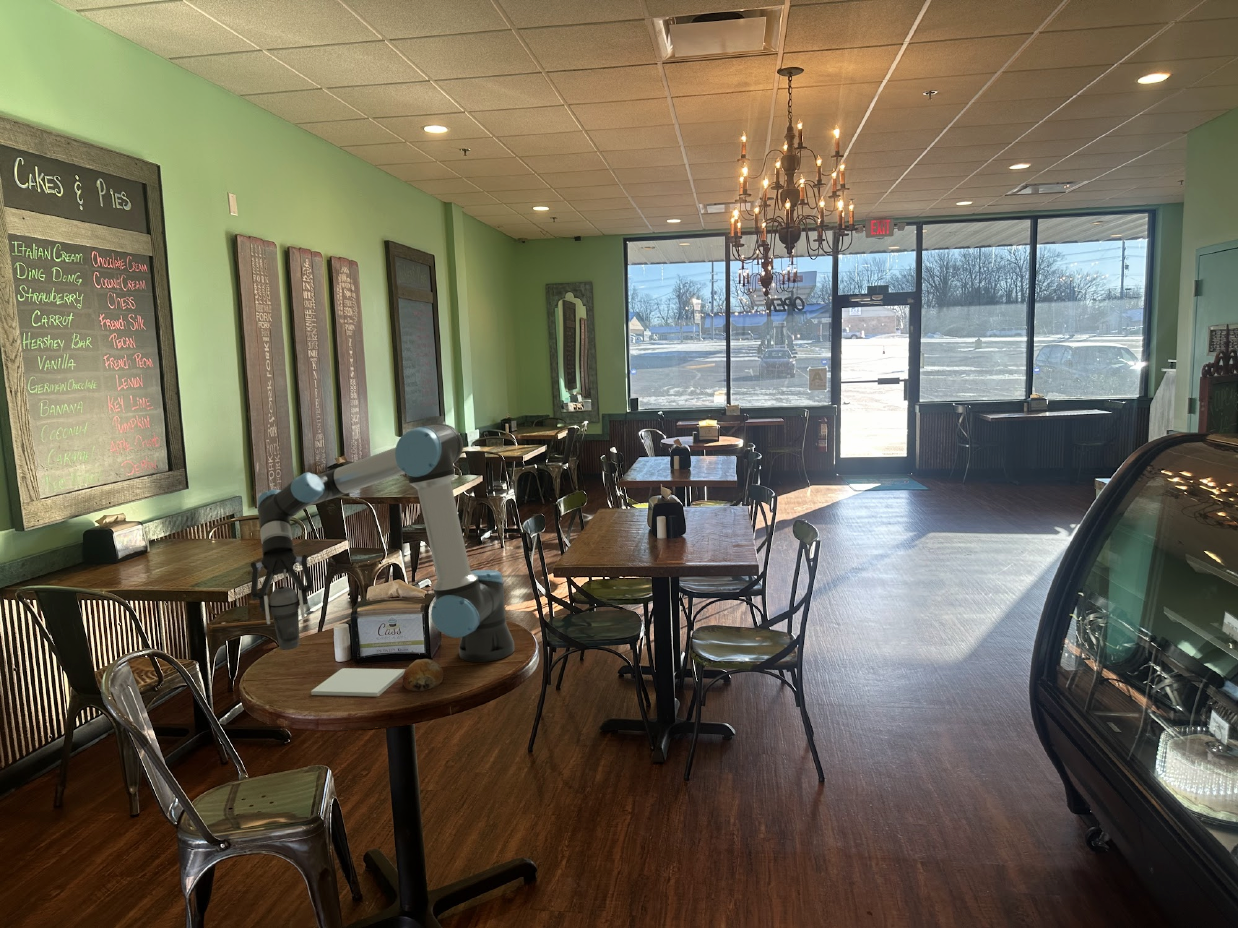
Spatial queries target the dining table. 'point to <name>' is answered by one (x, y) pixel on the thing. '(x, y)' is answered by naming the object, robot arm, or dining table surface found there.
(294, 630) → the beverage cup
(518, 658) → the dining table surface
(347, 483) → the robot arm
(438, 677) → the bread roll
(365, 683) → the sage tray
